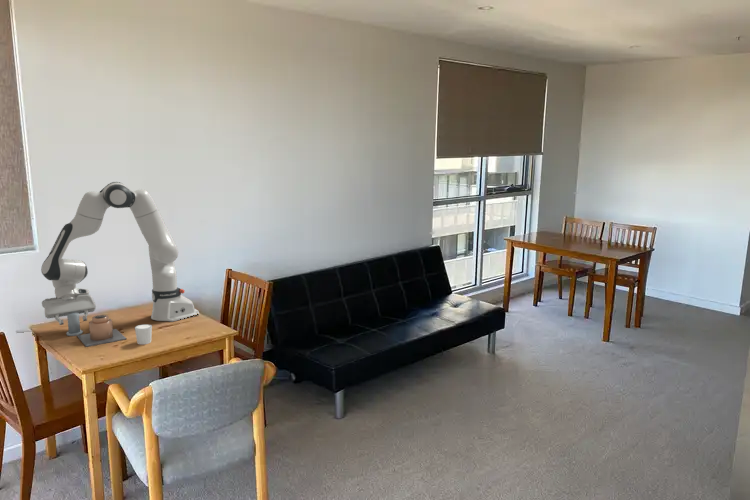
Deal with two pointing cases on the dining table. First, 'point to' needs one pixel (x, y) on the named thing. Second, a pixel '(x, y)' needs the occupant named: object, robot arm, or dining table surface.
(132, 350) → the dining table surface
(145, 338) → the white cup
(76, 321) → the stopper
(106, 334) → the jar
